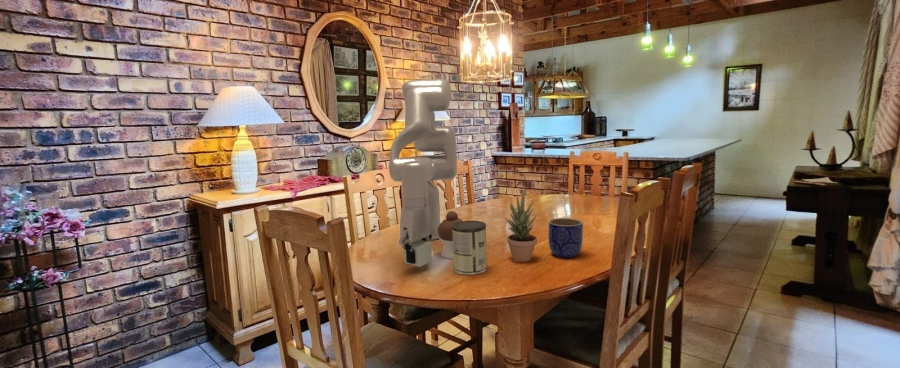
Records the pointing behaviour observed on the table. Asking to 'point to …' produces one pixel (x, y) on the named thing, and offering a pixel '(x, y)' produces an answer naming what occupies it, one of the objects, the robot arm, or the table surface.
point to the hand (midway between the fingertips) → (418, 259)
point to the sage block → (421, 253)
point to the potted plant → (521, 232)
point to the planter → (565, 237)
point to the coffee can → (469, 247)
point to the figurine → (447, 234)
